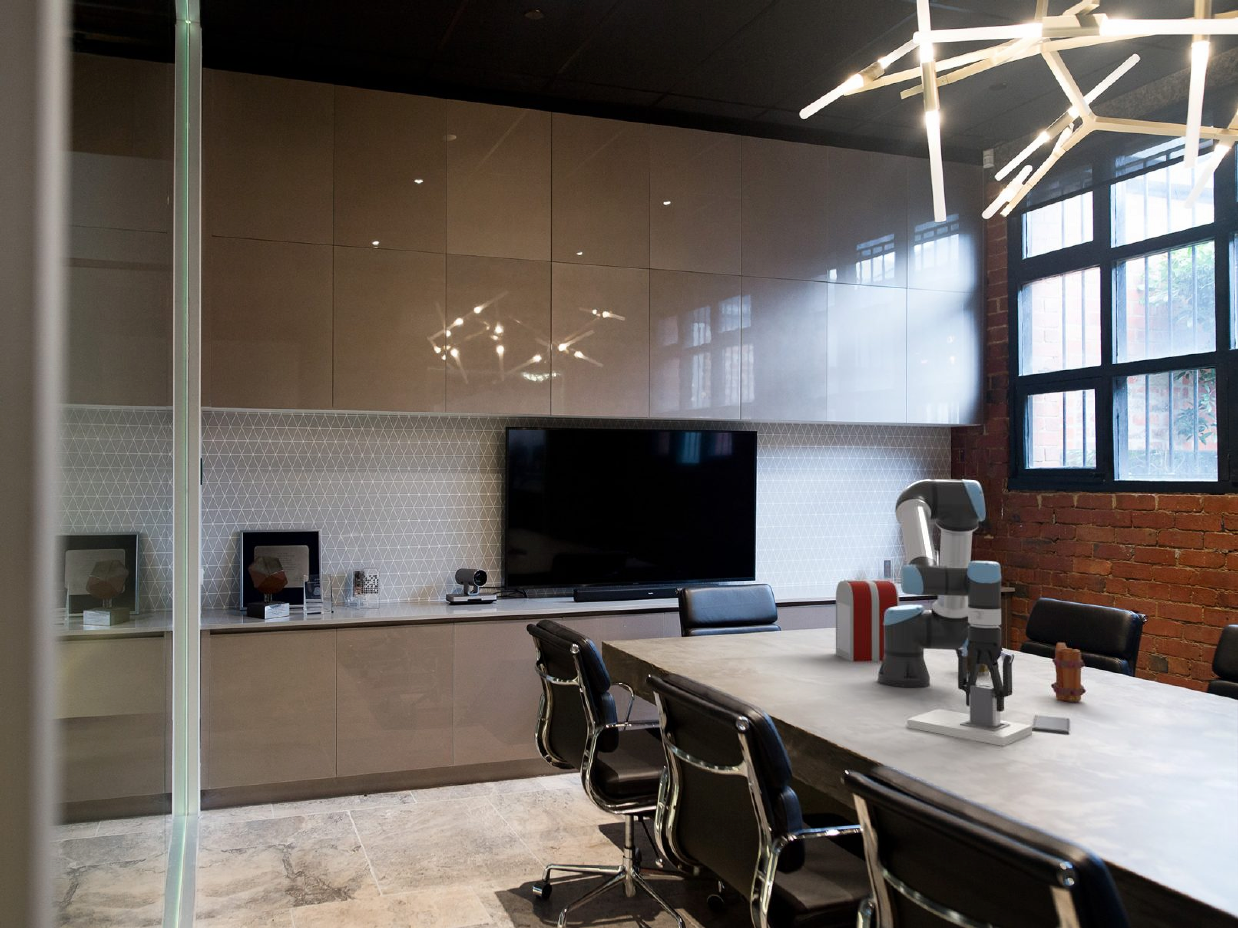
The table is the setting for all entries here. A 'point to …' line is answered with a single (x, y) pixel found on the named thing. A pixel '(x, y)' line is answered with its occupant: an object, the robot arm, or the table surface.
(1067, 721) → the phone
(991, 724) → the grey rectangular block
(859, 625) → the red striped box
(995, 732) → the outlet plate
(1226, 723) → the table surface
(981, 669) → the ceramic cup
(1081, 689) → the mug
